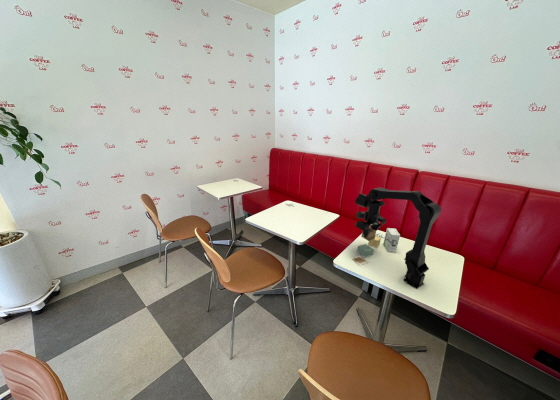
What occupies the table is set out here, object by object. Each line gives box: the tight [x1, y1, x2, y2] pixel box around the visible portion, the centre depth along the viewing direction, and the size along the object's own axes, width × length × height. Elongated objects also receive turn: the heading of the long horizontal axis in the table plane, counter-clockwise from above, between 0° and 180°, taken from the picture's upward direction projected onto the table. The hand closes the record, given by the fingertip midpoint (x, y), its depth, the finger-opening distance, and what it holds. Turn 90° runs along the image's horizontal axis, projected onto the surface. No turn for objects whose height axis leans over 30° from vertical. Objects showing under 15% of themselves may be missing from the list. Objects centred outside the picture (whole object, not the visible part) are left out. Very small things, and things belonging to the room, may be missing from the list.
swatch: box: [351, 255, 368, 266], centre depth 118 cm, size 6×6×1 cm
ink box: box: [382, 227, 401, 253], centre depth 128 cm, size 9×5×12 cm, turn 172°
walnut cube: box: [361, 226, 377, 242], centre depth 120 cm, size 5×5×5 cm
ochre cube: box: [367, 235, 382, 249], centre depth 133 cm, size 5×5×5 cm
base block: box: [356, 243, 375, 258], centre depth 124 cm, size 6×6×4 cm
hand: (368, 236), depth 120 cm, fingers closed on walnut cube, 5 cm apart
